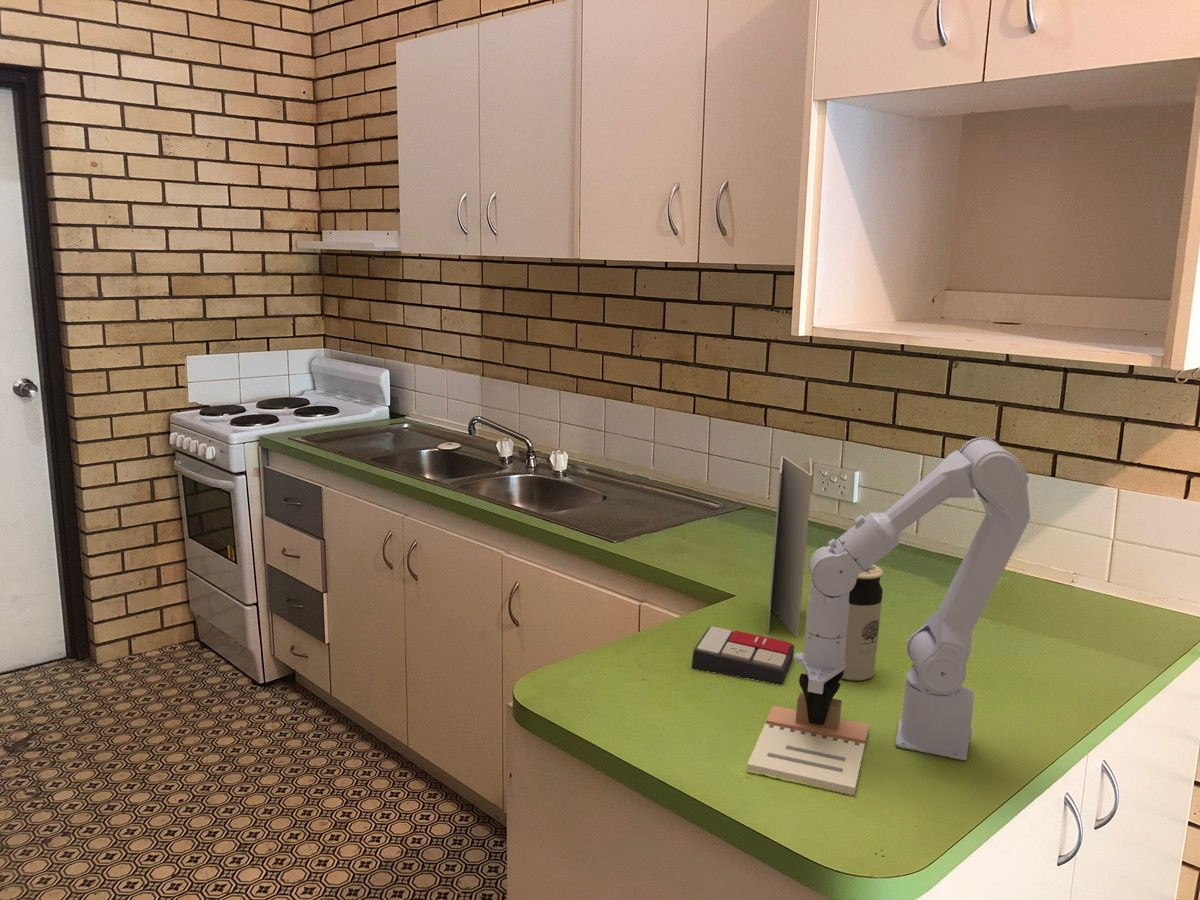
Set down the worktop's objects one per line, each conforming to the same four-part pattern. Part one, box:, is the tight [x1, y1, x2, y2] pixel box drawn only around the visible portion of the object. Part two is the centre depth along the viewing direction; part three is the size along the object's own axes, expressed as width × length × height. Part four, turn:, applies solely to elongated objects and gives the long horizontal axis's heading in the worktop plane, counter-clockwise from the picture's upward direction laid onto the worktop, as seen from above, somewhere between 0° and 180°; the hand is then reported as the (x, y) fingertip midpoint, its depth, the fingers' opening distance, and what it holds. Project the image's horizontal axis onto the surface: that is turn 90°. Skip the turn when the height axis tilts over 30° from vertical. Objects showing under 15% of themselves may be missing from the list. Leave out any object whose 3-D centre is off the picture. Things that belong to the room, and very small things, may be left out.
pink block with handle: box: [765, 691, 870, 749], centre depth 141 cm, size 14×5×5 cm, turn 69°
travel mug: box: [841, 564, 884, 682], centre depth 160 cm, size 8×8×18 cm
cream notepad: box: [746, 723, 866, 796], centre depth 133 cm, size 14×12×1 cm
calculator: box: [691, 626, 795, 686], centre depth 163 cm, size 11×4×15 cm
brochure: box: [766, 455, 813, 638], centre depth 179 cm, size 14×6×30 cm, turn 168°
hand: (817, 718), depth 142 cm, fingers closed on pink block with handle, 2 cm apart
